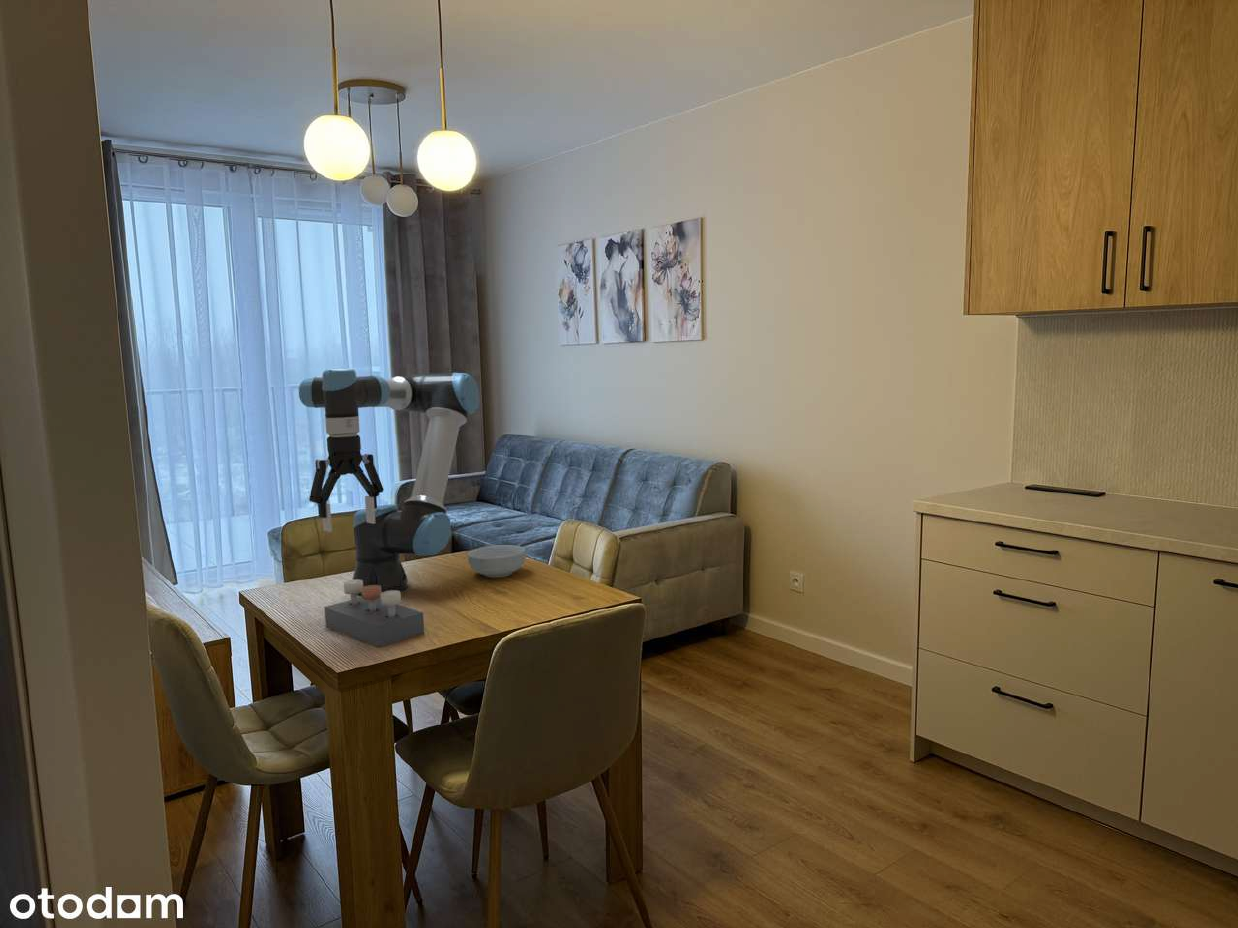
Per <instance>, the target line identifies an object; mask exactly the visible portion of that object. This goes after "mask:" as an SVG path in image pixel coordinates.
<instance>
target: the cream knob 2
mask: <svg viewBox="0 0 1238 928" xmlns="http://www.w3.org/2000/svg"><path fill="white" fill-rule="evenodd" d="M380 595H381V598H380V599H381V605H383V606H388V618H393V617H396V615H395V605H401V603H402V595H401V591H397V590H391V591H385V592H382V593H381V594H380Z"/></svg>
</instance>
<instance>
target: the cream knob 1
mask: <svg viewBox="0 0 1238 928" xmlns="http://www.w3.org/2000/svg"><path fill="white" fill-rule="evenodd" d="M362 587H363V580H359V579H355V580H353V579H349V580H345V581H344V582H343V592H344V594H345V595H350V600H351V605H352V606H354V605H357V604H358V598H359V597H358V596H359V595H358V593H361V592H362Z"/></svg>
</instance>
